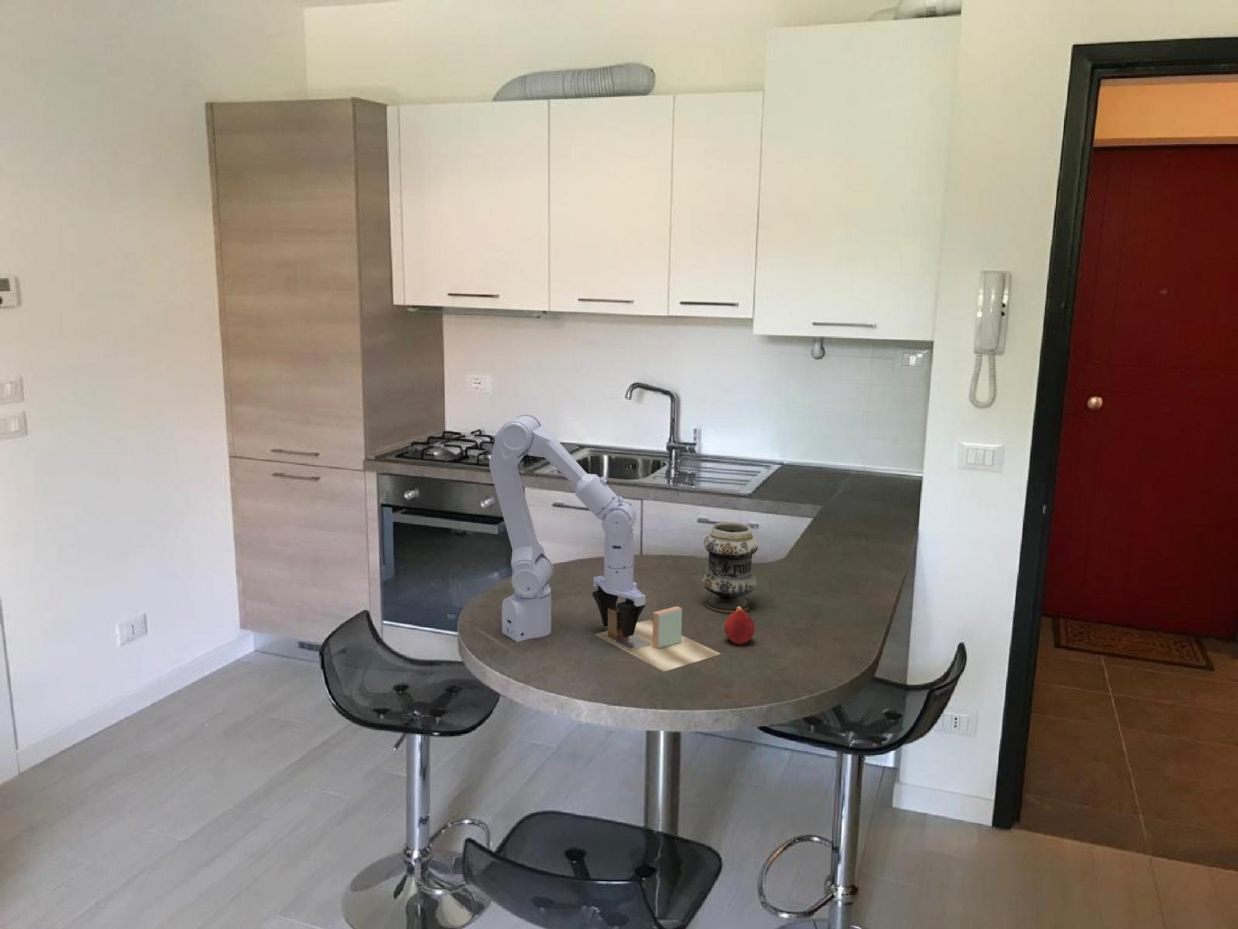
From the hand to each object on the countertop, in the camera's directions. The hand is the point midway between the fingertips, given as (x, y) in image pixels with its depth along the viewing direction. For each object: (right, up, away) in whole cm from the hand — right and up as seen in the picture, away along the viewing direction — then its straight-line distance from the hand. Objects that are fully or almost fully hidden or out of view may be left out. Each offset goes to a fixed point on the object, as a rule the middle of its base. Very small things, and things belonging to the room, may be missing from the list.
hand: (618, 630), depth 185 cm
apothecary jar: (+24, +2, +21) cm, 32 cm away
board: (+7, -3, -3) cm, 8 cm away
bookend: (+2, -2, -2) cm, 3 cm away
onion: (+24, -3, -1) cm, 24 cm away
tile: (+10, -2, -3) cm, 10 cm away
